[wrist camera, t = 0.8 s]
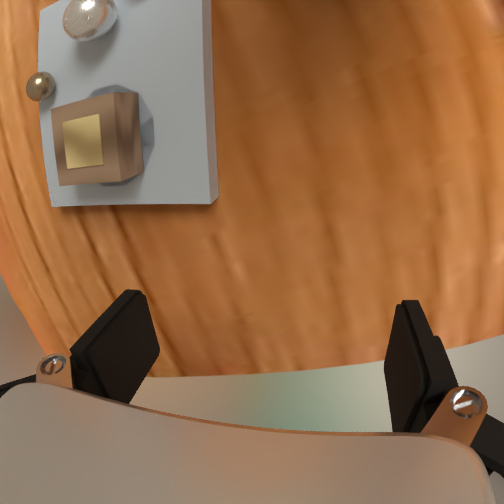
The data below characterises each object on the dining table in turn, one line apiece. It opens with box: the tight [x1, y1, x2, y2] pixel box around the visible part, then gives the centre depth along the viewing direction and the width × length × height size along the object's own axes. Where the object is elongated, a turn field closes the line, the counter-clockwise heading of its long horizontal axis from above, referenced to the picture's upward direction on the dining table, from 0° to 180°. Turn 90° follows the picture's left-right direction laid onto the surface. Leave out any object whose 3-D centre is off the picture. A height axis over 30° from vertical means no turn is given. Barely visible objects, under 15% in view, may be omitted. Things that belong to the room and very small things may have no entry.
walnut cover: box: [51, 92, 144, 186], centre depth 29 cm, size 9×9×5 cm
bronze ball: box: [26, 71, 55, 101], centre depth 28 cm, size 4×4×4 cm
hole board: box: [38, 0, 219, 207], centre depth 31 cm, size 28×23×3 cm
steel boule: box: [62, 0, 117, 42], centre depth 23 cm, size 6×6×6 cm
